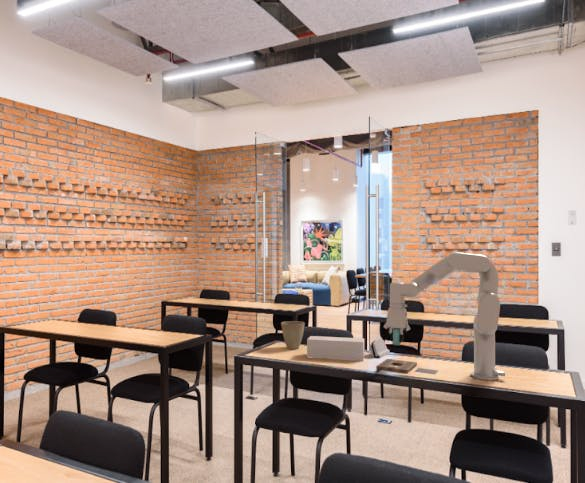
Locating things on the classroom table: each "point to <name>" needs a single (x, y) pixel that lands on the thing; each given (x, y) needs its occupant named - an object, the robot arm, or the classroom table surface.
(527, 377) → the classroom table surface
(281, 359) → the classroom table surface
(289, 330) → the plant pot
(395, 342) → the peg
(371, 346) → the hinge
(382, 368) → the hole board
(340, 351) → the long grey foam brick
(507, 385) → the classroom table surface
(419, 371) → the plate
